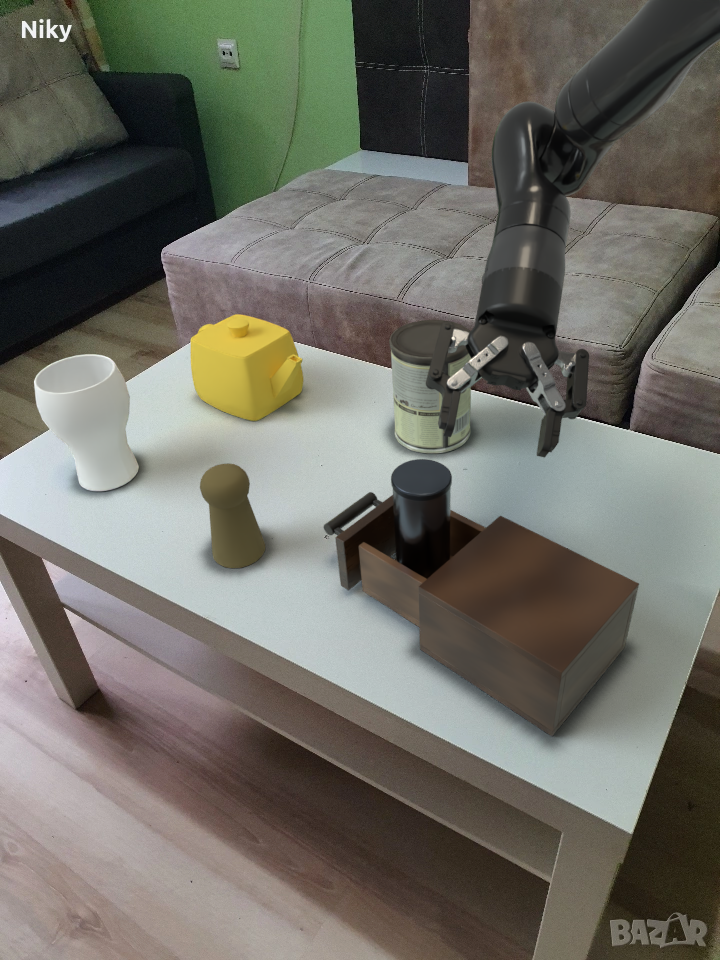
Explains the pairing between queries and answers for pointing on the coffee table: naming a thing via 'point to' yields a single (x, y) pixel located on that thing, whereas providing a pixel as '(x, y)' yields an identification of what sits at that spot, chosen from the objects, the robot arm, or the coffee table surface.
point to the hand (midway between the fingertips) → (495, 443)
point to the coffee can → (425, 389)
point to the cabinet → (526, 620)
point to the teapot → (245, 366)
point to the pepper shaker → (231, 516)
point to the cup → (89, 417)
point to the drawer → (385, 553)
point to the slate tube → (422, 515)
